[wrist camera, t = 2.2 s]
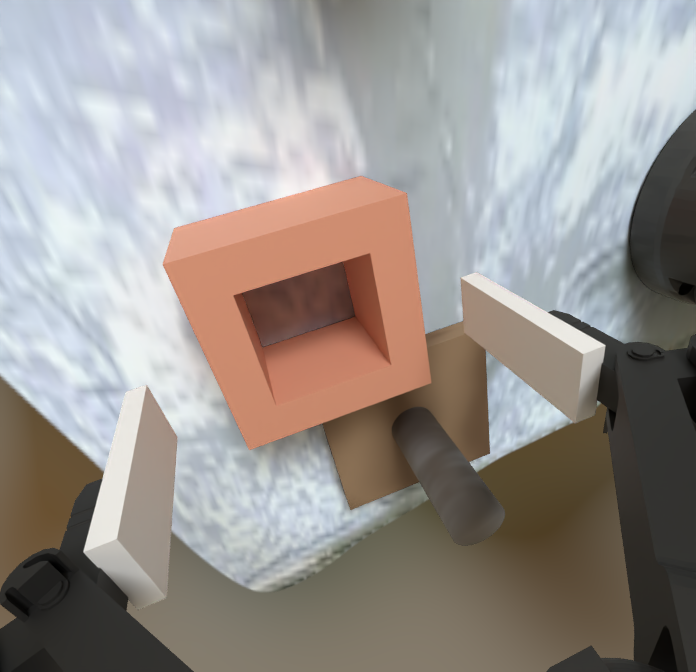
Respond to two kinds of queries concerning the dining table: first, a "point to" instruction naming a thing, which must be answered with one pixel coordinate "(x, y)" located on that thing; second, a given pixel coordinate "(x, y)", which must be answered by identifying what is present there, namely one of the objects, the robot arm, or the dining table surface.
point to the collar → (319, 345)
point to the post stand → (426, 440)
